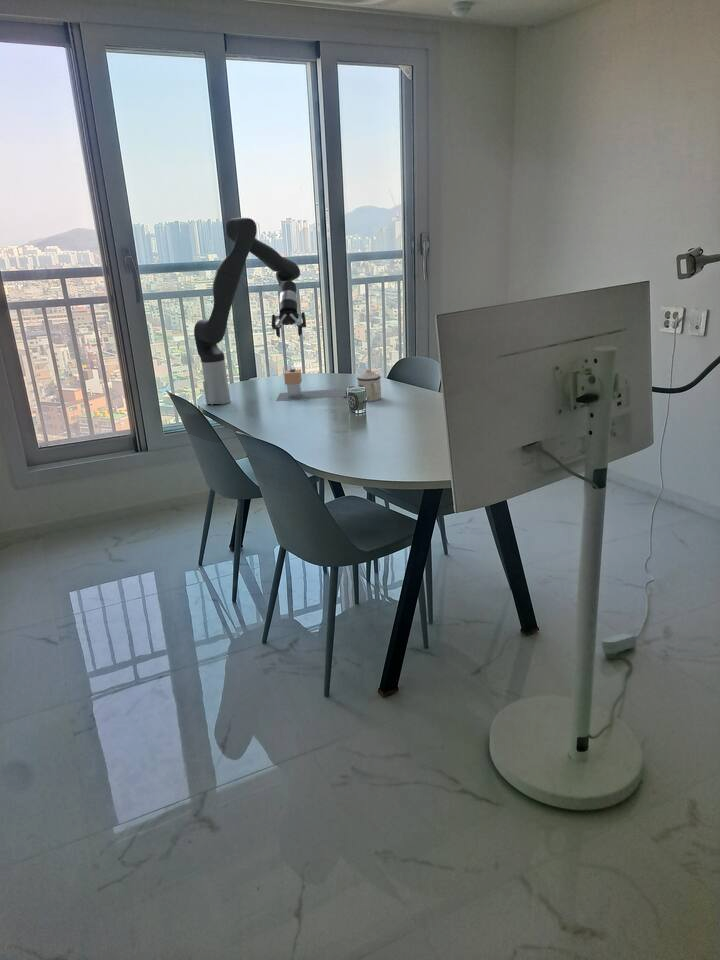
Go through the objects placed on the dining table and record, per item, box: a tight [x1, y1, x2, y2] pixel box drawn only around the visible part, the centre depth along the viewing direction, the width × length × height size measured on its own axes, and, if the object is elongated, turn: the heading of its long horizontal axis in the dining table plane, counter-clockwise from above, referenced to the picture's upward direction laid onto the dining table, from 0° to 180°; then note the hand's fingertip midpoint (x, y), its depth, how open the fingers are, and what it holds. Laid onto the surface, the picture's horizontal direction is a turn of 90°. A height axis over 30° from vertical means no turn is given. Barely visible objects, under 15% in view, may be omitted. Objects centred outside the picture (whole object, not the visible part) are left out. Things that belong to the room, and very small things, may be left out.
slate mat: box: [276, 388, 347, 402], centre depth 268 cm, size 28×14×1 cm, turn 90°
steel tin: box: [286, 383, 302, 398], centre depth 266 cm, size 5×5×9 cm
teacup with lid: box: [356, 368, 382, 402], centre depth 253 cm, size 12×9×12 cm
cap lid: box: [283, 368, 303, 386], centre depth 265 cm, size 6×6×5 cm
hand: (289, 335), depth 272 cm, fingers open, 8 cm apart
